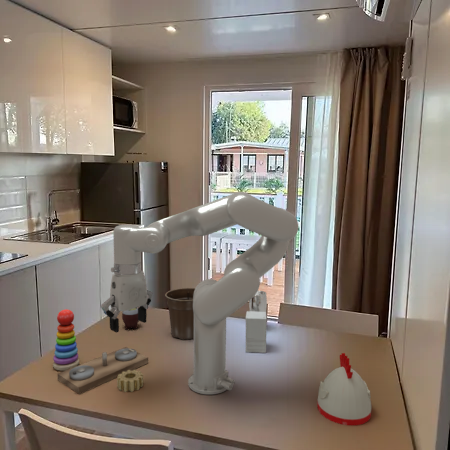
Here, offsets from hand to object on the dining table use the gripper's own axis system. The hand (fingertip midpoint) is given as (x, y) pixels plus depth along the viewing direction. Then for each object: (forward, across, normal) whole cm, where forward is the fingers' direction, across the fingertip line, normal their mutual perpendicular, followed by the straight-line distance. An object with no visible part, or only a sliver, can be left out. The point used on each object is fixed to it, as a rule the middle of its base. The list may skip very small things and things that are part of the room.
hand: (128, 326), depth 119 cm
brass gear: (+18, 0, 0) cm, 18 cm away
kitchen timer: (+18, +30, -53) cm, 64 cm away
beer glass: (+18, +60, -3) cm, 63 cm away
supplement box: (+18, +45, -13) cm, 50 cm away
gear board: (+18, 0, +13) cm, 22 cm away
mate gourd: (+18, +27, +36) cm, 49 cm away
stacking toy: (+19, -6, +25) cm, 32 cm away
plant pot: (+18, +38, +15) cm, 45 cm away
